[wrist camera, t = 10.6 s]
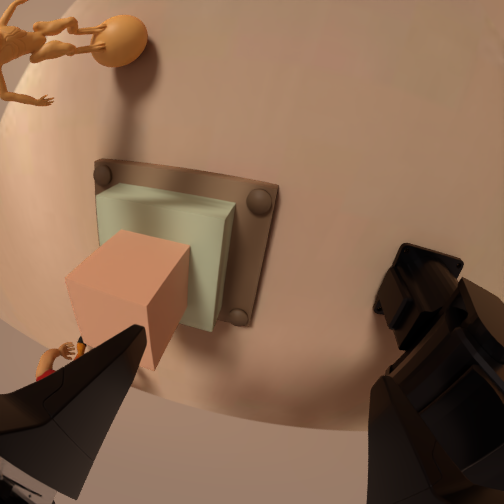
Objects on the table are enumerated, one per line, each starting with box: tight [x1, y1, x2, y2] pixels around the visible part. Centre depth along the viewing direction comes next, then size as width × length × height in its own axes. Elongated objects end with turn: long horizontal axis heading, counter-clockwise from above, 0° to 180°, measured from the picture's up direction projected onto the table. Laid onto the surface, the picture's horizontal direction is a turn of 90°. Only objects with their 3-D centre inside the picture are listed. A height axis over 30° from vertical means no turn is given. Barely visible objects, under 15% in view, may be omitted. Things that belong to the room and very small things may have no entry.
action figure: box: [36, 336, 86, 381], centre depth 23 cm, size 10×4×15 cm, turn 82°
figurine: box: [0, 0, 148, 106], centre depth 10 cm, size 8×6×12 cm
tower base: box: [93, 159, 279, 332], centre depth 20 cm, size 14×12×4 cm
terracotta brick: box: [65, 229, 190, 371], centre depth 16 cm, size 5×5×6 cm
